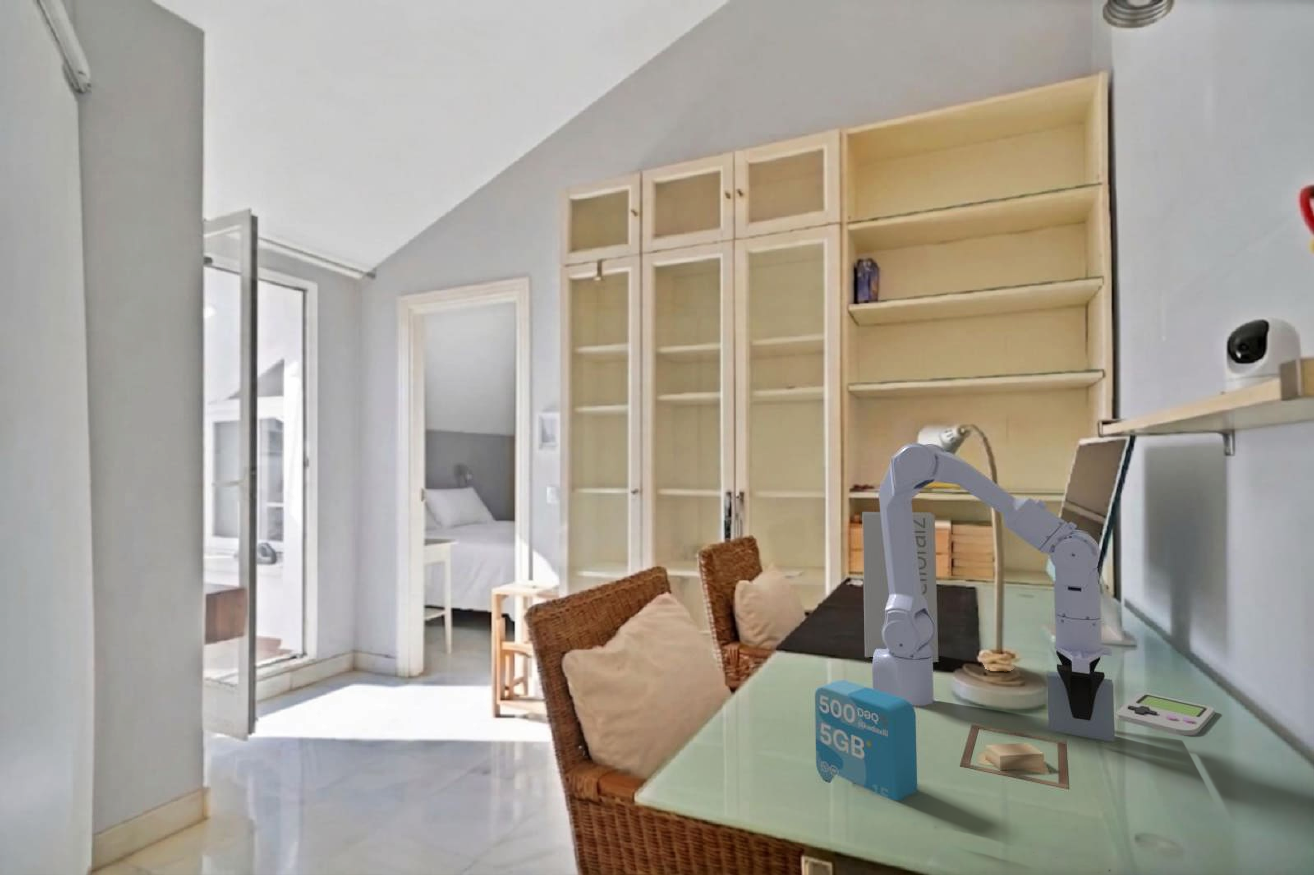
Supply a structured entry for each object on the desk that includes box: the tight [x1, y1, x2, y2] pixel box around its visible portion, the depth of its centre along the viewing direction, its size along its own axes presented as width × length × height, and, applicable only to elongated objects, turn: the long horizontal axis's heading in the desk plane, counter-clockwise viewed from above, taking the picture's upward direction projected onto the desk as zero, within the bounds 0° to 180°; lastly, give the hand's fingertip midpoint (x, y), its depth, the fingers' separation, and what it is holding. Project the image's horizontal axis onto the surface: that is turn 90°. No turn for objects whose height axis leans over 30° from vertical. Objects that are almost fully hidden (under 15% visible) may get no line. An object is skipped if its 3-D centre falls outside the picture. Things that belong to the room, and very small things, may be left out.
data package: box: [814, 679, 918, 802], centre depth 83 cm, size 12×4×12 cm, turn 37°
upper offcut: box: [984, 742, 1045, 771], centre depth 86 cm, size 6×3×2 cm, turn 96°
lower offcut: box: [977, 752, 1050, 776], centre depth 86 cm, size 8×4×2 cm, turn 67°
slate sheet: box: [1046, 670, 1116, 743], centre depth 96 cm, size 8×2×9 cm, turn 59°
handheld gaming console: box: [1115, 692, 1215, 736], centre depth 106 cm, size 10×2×15 cm
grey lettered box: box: [861, 511, 939, 663], centre depth 139 cm, size 14×6×30 cm, turn 73°
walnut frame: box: [959, 724, 1069, 790], centre depth 89 cm, size 12×16×2 cm
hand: (1080, 709), depth 96 cm, fingers open, 7 cm apart
